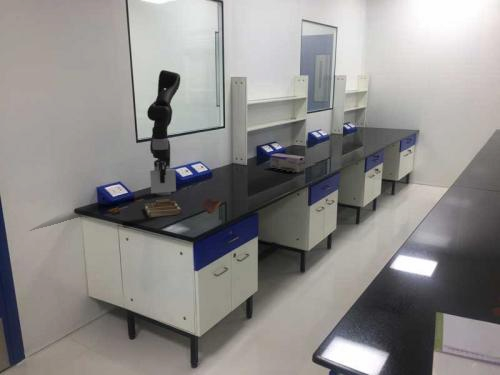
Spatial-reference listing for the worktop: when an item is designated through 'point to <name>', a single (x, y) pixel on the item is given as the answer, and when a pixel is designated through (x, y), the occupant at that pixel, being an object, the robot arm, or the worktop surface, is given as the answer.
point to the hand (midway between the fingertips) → (162, 182)
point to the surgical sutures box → (287, 162)
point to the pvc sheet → (163, 187)
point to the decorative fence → (118, 209)
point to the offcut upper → (163, 202)
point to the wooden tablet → (211, 205)
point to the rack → (162, 210)
